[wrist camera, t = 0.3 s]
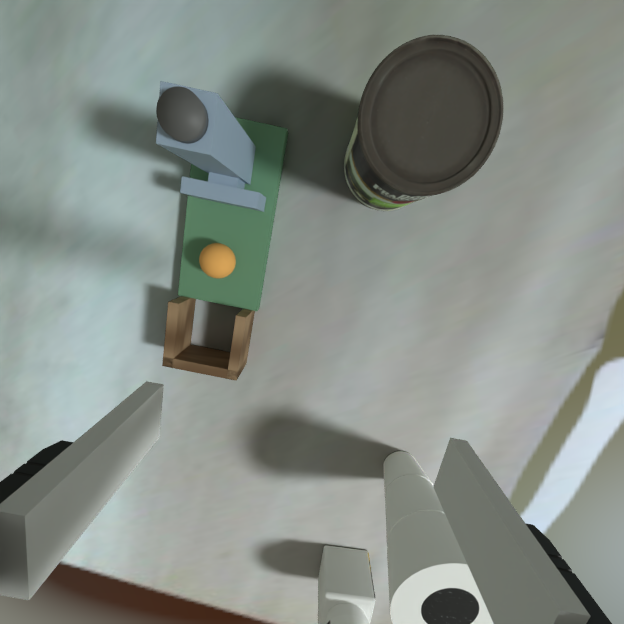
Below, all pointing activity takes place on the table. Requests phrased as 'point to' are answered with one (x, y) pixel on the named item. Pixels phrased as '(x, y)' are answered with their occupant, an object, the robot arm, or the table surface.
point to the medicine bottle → (345, 587)
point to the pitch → (235, 227)
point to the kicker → (208, 145)
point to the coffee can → (423, 123)
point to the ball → (217, 260)
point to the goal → (203, 358)
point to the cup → (424, 553)
